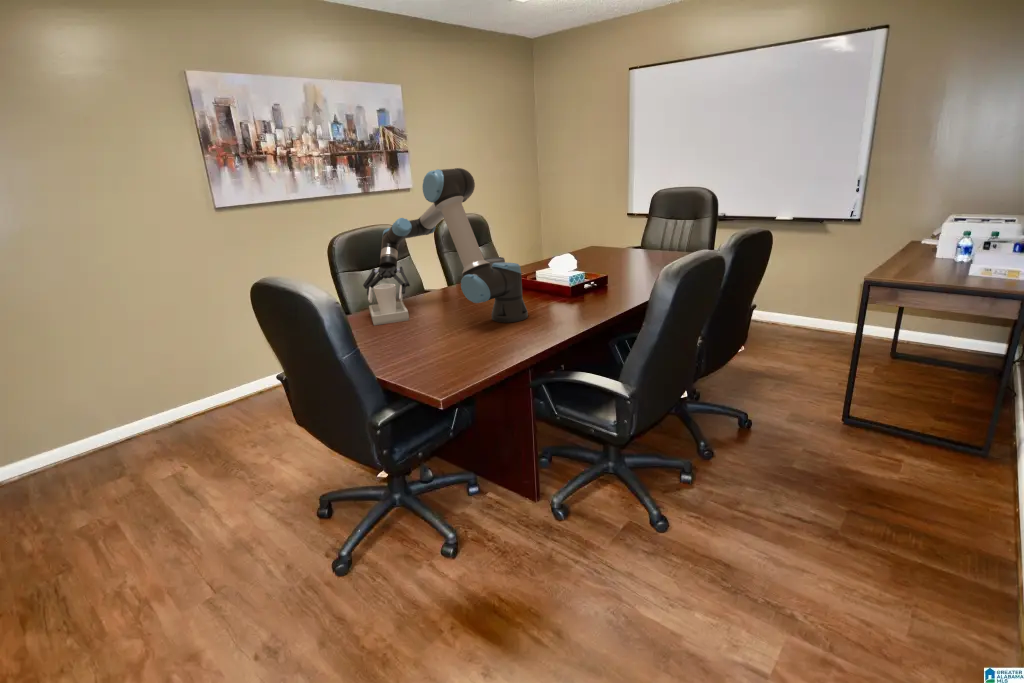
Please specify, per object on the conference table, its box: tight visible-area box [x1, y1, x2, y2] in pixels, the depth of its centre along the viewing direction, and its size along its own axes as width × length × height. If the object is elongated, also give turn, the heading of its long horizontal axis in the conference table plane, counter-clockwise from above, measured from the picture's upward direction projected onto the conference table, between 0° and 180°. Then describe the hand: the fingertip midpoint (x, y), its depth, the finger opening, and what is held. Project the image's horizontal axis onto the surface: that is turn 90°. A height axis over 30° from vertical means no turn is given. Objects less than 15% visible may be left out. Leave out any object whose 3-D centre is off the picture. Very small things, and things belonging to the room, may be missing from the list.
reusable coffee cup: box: [483, 256, 506, 268], centre depth 271 cm, size 13×13×15 cm
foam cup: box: [373, 283, 397, 315], centre depth 232 cm, size 10×9×13 cm
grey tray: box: [368, 300, 410, 326], centre depth 234 cm, size 20×15×4 cm
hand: (385, 300), depth 229 cm, fingers open, 13 cm apart
